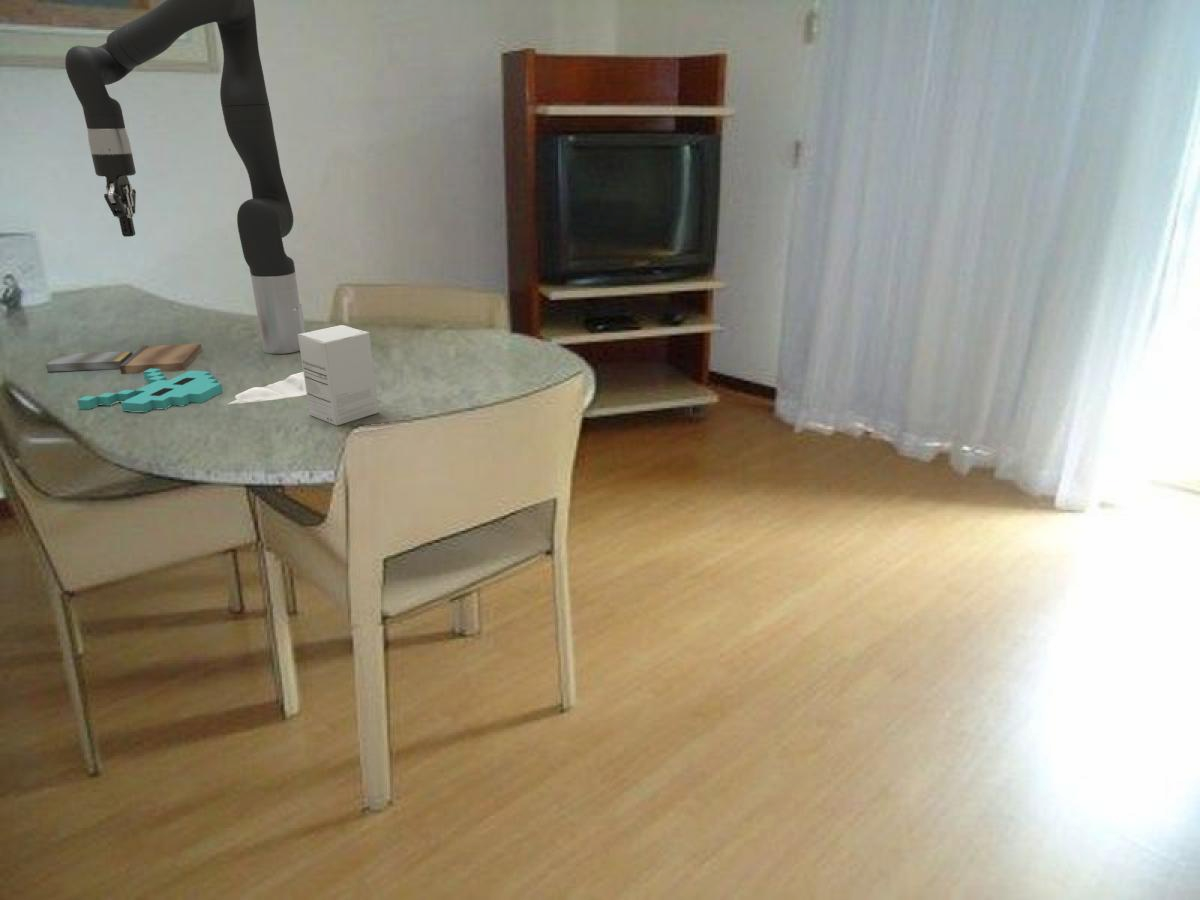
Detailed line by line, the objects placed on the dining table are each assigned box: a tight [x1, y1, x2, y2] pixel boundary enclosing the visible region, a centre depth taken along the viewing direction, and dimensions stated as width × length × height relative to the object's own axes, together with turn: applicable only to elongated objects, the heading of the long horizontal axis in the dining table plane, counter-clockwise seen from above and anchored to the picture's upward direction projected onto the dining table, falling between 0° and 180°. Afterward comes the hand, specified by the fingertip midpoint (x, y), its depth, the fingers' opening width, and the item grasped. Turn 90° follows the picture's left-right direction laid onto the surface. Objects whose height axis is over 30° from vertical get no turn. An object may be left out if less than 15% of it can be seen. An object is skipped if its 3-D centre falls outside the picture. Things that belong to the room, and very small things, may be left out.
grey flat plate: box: [45, 350, 134, 373], centre depth 175 cm, size 14×8×2 cm, turn 101°
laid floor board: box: [119, 343, 203, 375], centre depth 178 cm, size 12×16×2 cm
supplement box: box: [298, 324, 380, 427], centre depth 145 cm, size 9×9×15 cm
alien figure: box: [76, 368, 223, 412], centre depth 157 cm, size 20×2×20 cm
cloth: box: [226, 371, 307, 406], centre depth 161 cm, size 26×14×2 cm, turn 136°
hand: (129, 235), depth 180 cm, fingers closed
